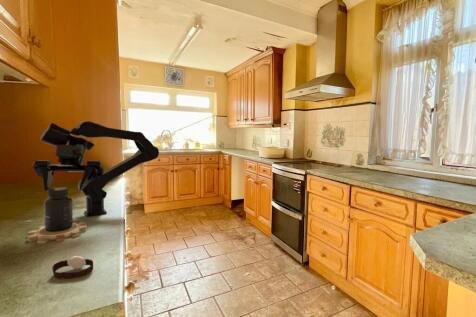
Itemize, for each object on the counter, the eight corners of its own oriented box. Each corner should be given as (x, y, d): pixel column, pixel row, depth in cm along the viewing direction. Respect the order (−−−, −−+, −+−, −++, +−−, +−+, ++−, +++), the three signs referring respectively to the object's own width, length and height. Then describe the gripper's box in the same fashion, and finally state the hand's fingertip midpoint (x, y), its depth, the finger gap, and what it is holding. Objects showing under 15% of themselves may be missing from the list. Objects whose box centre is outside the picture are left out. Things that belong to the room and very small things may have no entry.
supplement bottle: (38, 232, 69) (36, 191, 68) (55, 224, 76) (53, 186, 75) (63, 232, 70) (62, 191, 69) (77, 224, 76) (76, 186, 75)
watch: (97, 267, 55) (96, 251, 55) (88, 279, 50) (87, 262, 50) (59, 269, 54) (59, 253, 53) (46, 282, 49) (46, 264, 49)
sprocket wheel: (28, 230, 74) (28, 226, 74) (83, 221, 83) (83, 217, 83) (26, 248, 63) (26, 242, 62) (90, 235, 72) (90, 230, 72)
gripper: (34, 134, 76) (14, 175, 66) (101, 136, 81) (91, 174, 71) (47, 157, 84) (30, 196, 74) (106, 158, 89) (99, 194, 79)
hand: (63, 190), depth 75 cm, fingers open, 9 cm apart
